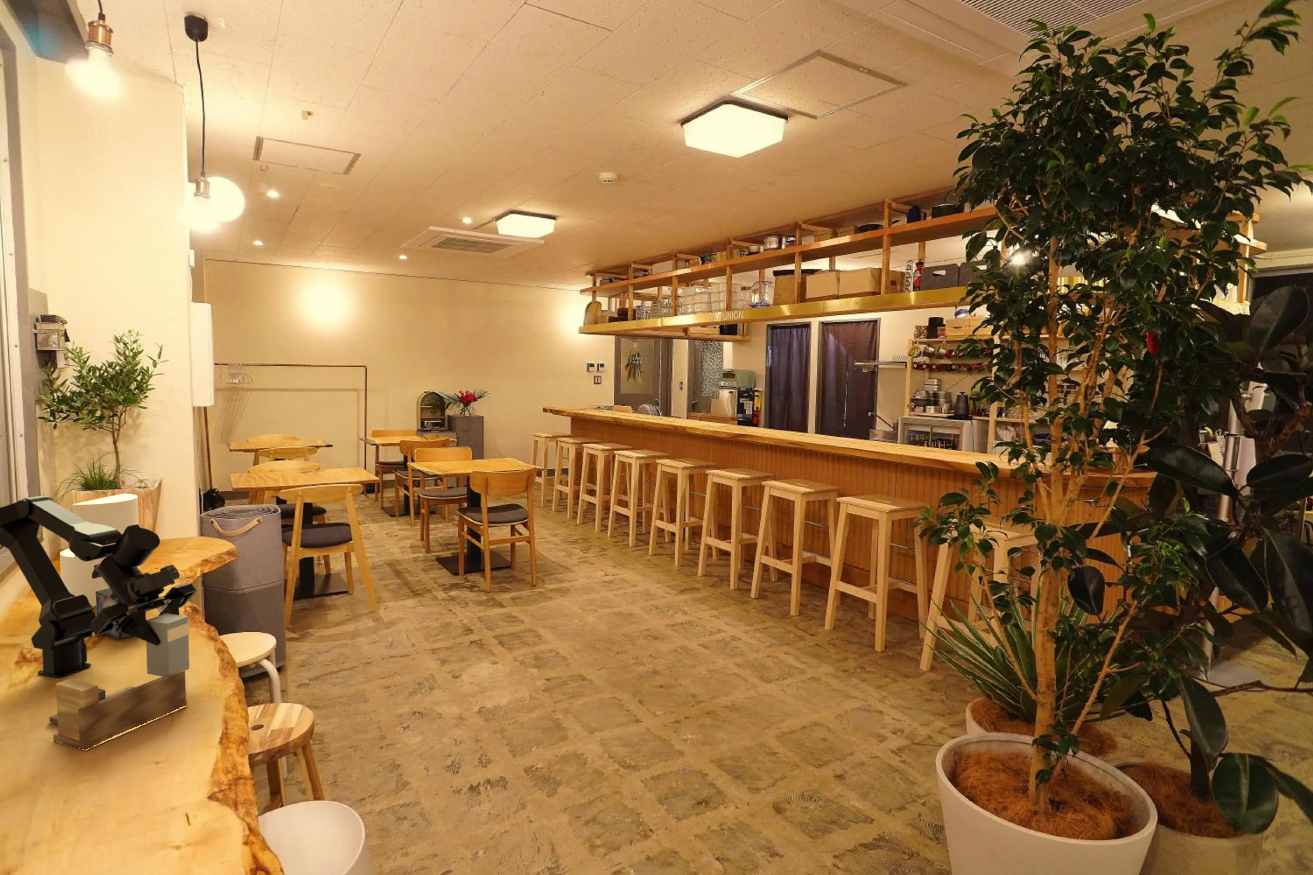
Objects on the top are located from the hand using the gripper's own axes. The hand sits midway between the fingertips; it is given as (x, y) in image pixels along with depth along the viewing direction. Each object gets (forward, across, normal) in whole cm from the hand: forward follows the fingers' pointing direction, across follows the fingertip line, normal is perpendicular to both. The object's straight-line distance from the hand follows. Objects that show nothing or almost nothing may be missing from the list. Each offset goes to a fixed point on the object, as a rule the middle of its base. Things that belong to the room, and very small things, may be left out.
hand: (170, 639), depth 140 cm
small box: (-20, +20, +35) cm, 45 cm away
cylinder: (-41, +38, +56) cm, 79 cm away
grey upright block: (+4, 0, +5) cm, 7 cm away
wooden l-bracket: (+8, -13, +7) cm, 16 cm away
